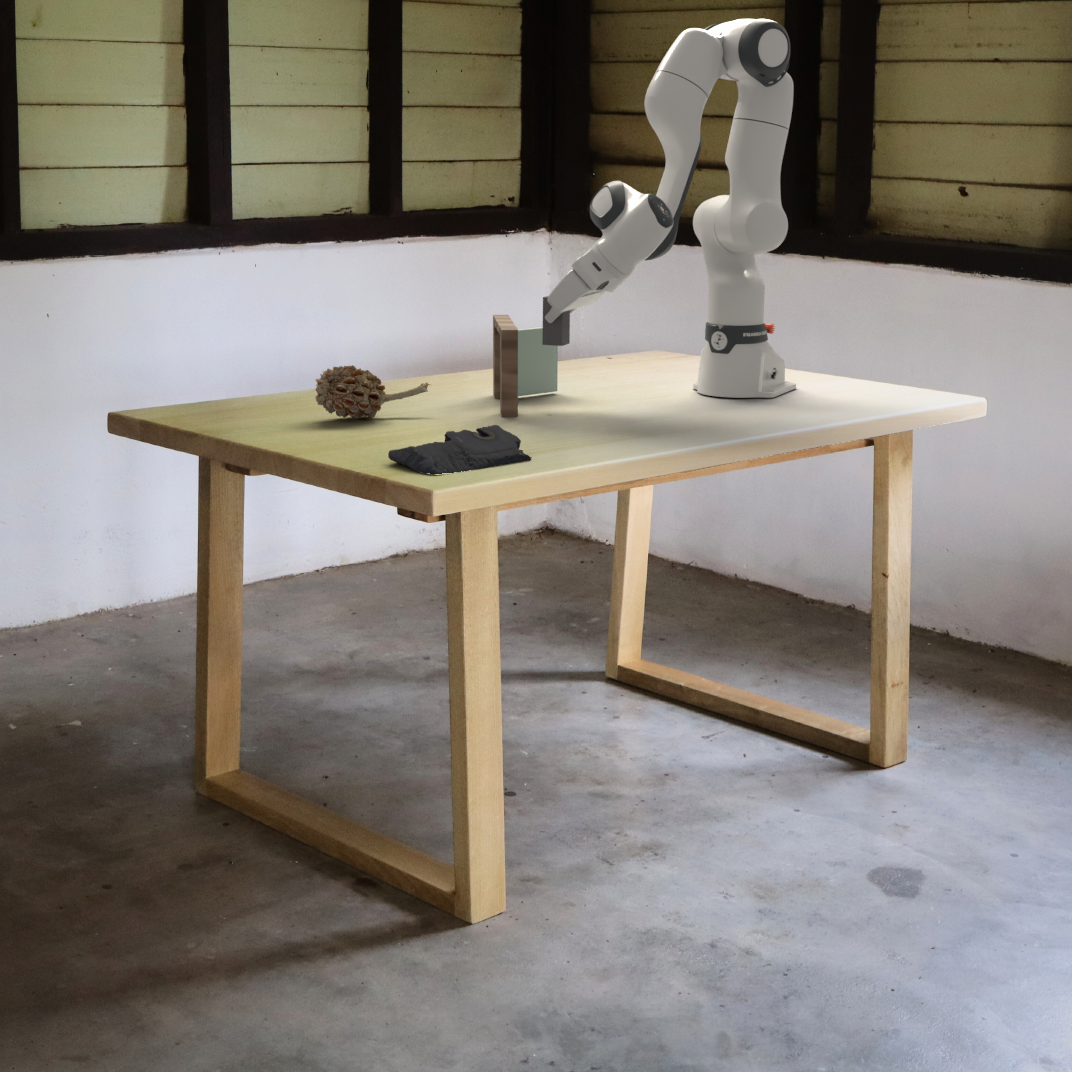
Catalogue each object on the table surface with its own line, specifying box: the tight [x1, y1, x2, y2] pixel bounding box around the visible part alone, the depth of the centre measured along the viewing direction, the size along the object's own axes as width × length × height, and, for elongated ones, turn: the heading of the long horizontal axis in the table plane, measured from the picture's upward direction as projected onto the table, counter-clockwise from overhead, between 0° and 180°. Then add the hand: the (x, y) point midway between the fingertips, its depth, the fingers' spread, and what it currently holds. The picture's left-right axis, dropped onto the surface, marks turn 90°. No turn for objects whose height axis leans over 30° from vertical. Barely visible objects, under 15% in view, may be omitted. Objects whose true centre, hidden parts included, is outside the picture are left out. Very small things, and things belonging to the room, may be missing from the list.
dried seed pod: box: [314, 365, 431, 420], centre depth 277 cm, size 22×10×10 cm, turn 117°
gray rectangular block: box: [542, 295, 571, 347], centre depth 288 cm, size 4×4×9 cm
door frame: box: [492, 314, 519, 418], centre depth 289 cm, size 25×3×16 cm, turn 5°
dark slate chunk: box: [387, 424, 532, 474], centre depth 240 cm, size 15×22×5 cm
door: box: [517, 326, 559, 397], centre depth 300 cm, size 13×3×13 cm, turn 130°
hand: (553, 318), depth 288 cm, fingers closed on gray rectangular block, 4 cm apart
